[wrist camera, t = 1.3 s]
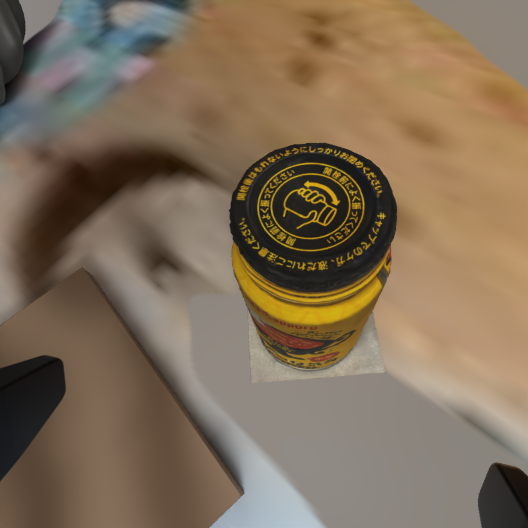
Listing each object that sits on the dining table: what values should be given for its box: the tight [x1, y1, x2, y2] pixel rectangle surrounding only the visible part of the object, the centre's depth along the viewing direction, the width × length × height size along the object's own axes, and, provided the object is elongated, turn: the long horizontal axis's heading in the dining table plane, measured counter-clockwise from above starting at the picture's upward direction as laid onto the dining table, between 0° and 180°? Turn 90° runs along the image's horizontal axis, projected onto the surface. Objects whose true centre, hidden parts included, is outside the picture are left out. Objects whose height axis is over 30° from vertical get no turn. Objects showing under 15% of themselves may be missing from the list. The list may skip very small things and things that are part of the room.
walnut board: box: [0, 268, 244, 528], centre depth 19 cm, size 16×16×1 cm
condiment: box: [229, 143, 397, 383], centre depth 17 cm, size 7×8×12 cm
